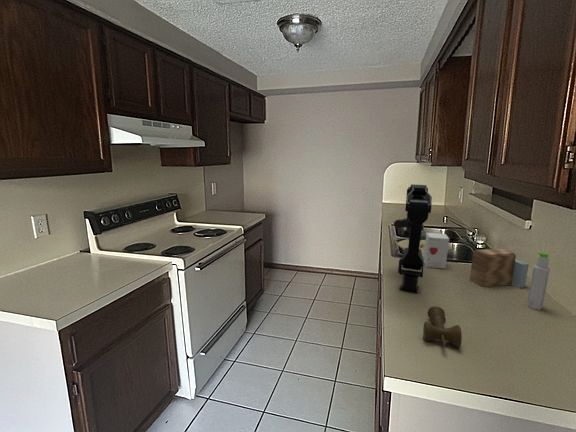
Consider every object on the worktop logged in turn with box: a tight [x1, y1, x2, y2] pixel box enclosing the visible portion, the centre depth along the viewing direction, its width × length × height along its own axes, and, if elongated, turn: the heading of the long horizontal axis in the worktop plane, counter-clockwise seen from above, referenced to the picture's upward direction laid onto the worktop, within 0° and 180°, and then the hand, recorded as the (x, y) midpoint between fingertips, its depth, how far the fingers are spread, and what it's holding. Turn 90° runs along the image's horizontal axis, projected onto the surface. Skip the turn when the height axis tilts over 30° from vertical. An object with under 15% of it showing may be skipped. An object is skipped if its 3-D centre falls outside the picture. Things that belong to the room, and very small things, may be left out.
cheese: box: [396, 238, 426, 259], centre depth 165 cm, size 15×7×15 cm
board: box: [510, 258, 529, 289], centre depth 136 cm, size 3×14×10 cm, turn 12°
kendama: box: [422, 306, 463, 348], centre depth 95 cm, size 6×10×20 cm
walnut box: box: [469, 248, 517, 288], centre depth 133 cm, size 14×7×14 cm, turn 102°
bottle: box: [526, 252, 550, 311], centre depth 112 cm, size 4×4×20 cm
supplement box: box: [423, 232, 450, 269], centre depth 153 cm, size 9×9×15 cm
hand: (412, 248), depth 140 cm, fingers closed
